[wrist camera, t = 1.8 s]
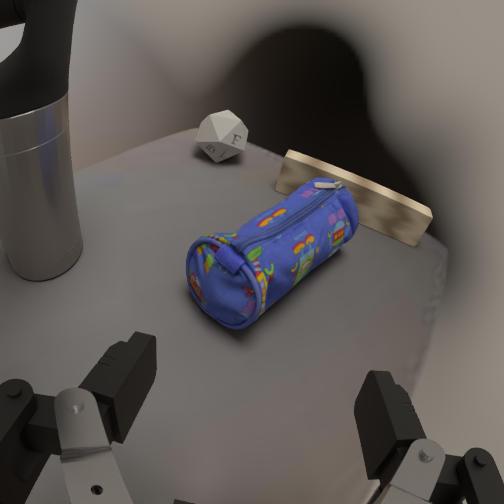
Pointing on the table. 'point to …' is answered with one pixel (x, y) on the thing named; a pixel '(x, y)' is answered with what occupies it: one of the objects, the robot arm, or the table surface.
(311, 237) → the pencil case
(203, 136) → the die
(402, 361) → the table surface
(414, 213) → the birch board
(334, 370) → the table surface
